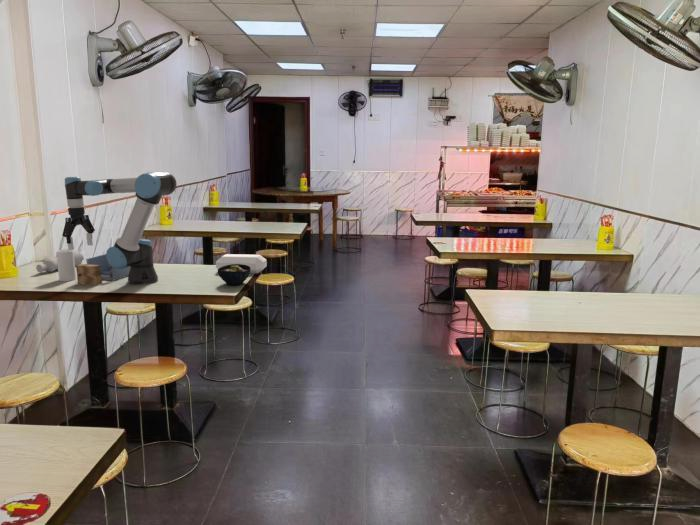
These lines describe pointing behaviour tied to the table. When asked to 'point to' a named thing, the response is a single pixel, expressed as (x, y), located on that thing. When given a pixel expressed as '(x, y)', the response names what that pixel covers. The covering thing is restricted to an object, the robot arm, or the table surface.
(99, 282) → the tan wooden block
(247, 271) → the bowl
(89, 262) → the cabinet
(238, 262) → the crystal
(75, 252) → the bottle
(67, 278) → the cup
